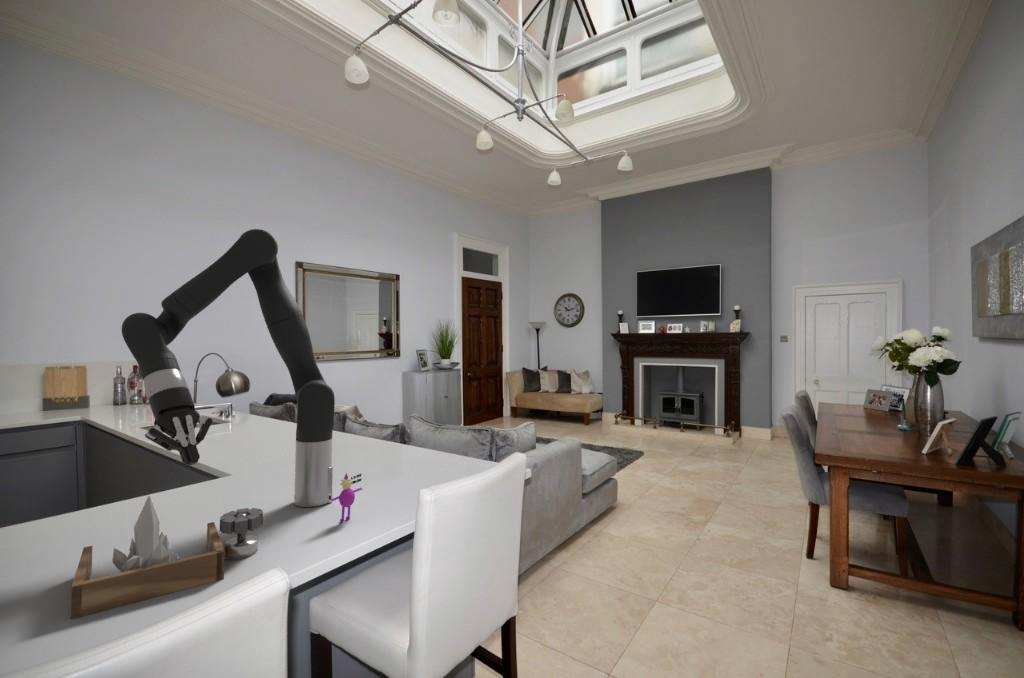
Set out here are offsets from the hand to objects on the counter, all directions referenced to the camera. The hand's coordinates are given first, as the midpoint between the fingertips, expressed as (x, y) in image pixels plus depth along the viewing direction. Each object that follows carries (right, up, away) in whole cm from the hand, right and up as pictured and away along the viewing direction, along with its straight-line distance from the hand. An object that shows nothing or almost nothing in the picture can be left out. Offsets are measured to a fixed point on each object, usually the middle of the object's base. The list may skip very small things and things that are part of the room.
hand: (193, 463), depth 98 cm
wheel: (+13, -12, -4) cm, 18 cm away
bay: (+2, -17, -13) cm, 22 cm away
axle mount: (+13, -17, -4) cm, 22 cm away
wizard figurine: (+28, -18, +14) cm, 36 cm away
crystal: (+2, -17, -15) cm, 23 cm away
